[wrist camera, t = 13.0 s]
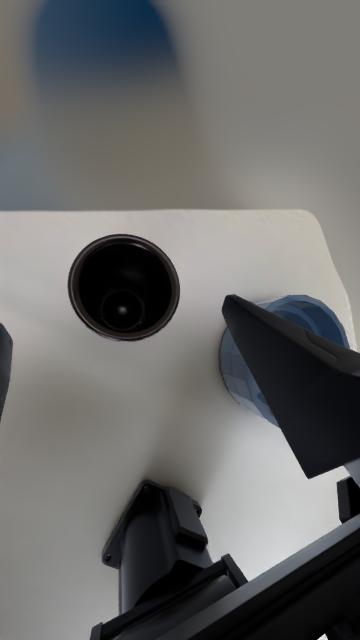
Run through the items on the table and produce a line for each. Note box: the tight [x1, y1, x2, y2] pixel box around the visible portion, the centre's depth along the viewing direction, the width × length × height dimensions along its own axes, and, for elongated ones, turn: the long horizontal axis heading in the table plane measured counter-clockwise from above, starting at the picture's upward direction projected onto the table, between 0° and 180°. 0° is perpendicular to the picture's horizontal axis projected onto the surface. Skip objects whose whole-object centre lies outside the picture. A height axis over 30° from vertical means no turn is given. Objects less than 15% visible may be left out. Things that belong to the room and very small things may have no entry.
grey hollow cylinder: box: [68, 234, 180, 342], centre depth 13 cm, size 4×4×10 cm
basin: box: [220, 295, 350, 428], centre depth 20 cm, size 12×12×4 cm
